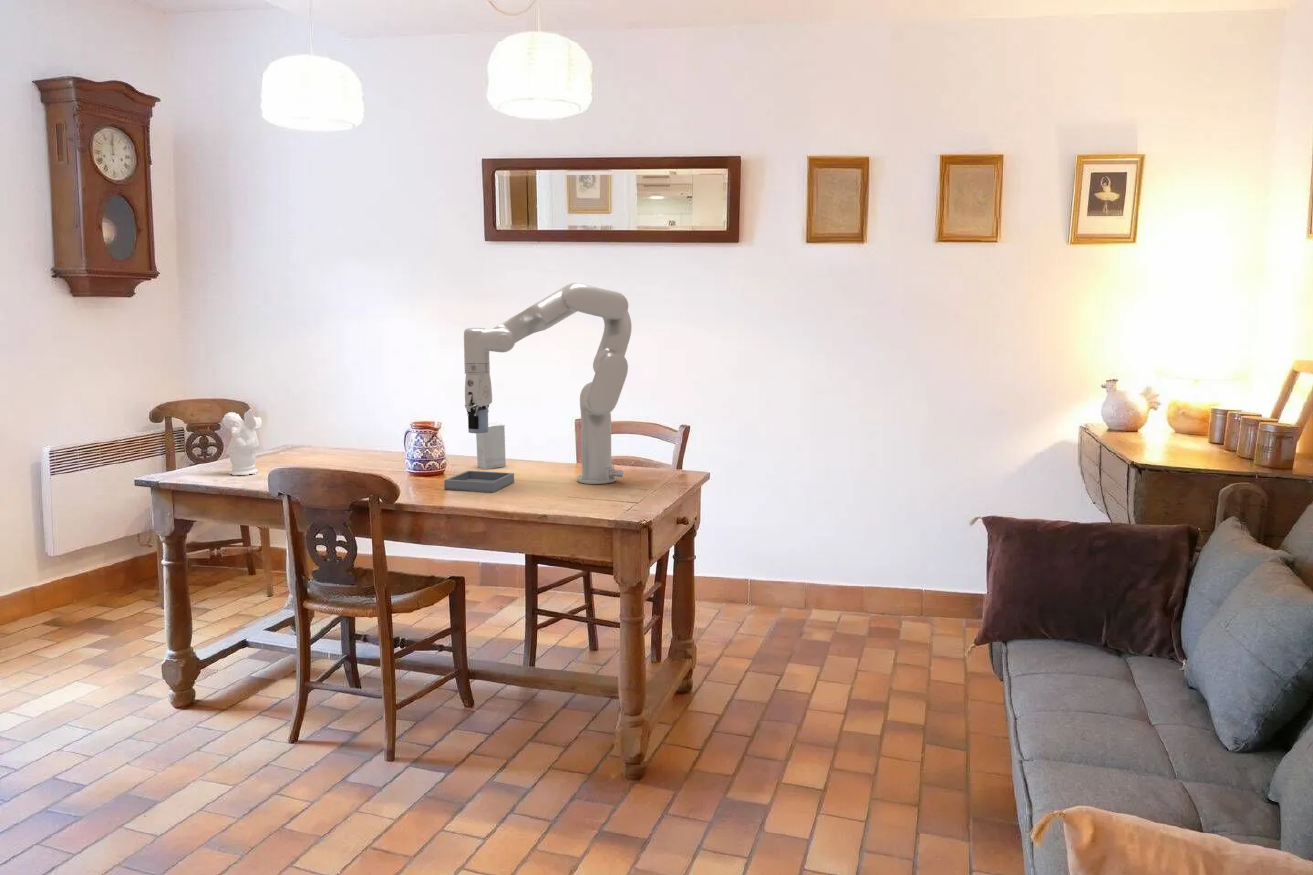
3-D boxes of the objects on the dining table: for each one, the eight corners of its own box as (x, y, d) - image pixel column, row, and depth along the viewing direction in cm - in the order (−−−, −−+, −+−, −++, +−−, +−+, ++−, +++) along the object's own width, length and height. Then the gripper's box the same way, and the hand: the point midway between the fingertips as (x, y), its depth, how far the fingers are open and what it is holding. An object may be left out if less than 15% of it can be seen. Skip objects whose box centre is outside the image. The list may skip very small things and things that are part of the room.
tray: (514, 482, 307) (514, 473, 306) (492, 492, 292) (492, 483, 291) (467, 479, 311) (467, 470, 310) (444, 489, 296) (444, 480, 295)
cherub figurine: (221, 474, 318) (216, 408, 315) (253, 468, 329) (249, 404, 325) (246, 477, 312) (241, 409, 309) (278, 471, 323) (273, 405, 319)
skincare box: (497, 464, 337) (496, 422, 335) (506, 467, 333) (505, 424, 330) (476, 467, 332) (475, 424, 330) (484, 469, 327) (483, 426, 325)
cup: (491, 430, 301) (491, 408, 300) (483, 433, 295) (482, 410, 294) (473, 430, 302) (473, 407, 301) (465, 432, 296) (464, 409, 295)
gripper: (476, 371, 286) (477, 431, 289) (500, 366, 303) (501, 424, 306) (452, 370, 288) (454, 430, 291) (478, 366, 305) (479, 423, 308)
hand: (478, 426), depth 298 cm, fingers closed on cup, 6 cm apart
